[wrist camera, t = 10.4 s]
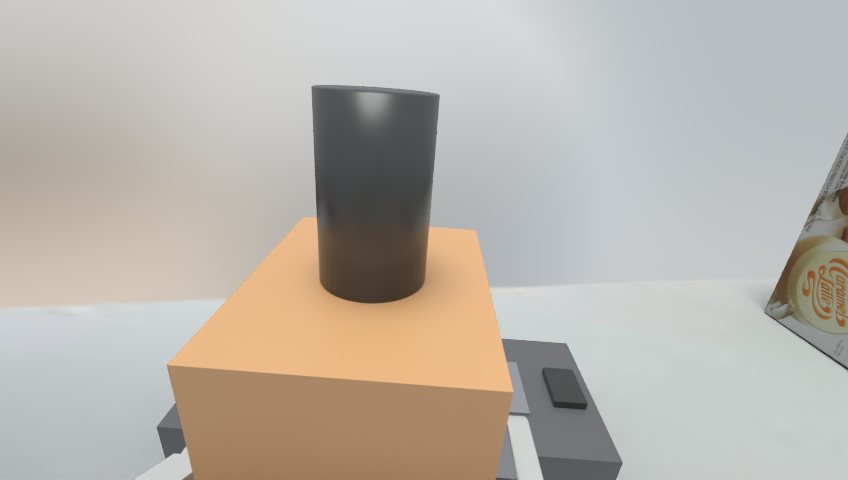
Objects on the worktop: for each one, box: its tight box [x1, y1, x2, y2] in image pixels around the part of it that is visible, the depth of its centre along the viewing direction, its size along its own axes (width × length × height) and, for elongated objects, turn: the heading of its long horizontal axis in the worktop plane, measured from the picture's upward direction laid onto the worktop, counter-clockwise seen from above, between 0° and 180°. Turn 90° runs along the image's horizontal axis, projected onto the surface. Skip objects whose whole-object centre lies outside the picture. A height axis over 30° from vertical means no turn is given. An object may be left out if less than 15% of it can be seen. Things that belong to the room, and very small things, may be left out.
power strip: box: [157, 339, 622, 480], centre depth 21 cm, size 20×8×3 cm, turn 88°
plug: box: [167, 85, 514, 480], centre depth 9 cm, size 4×5×15 cm
